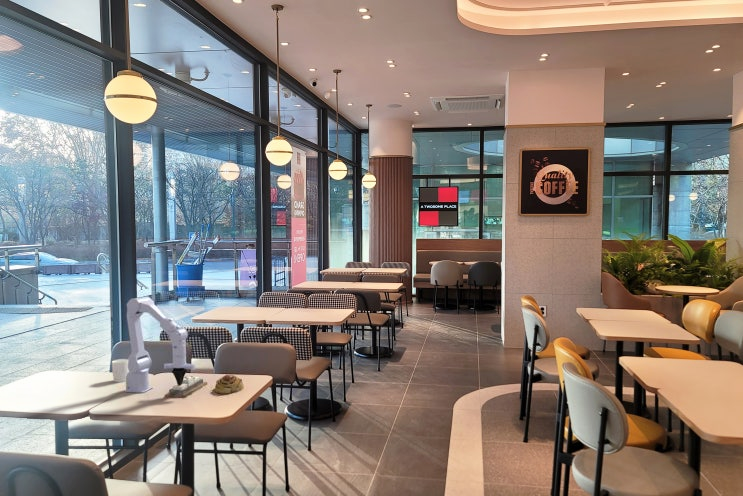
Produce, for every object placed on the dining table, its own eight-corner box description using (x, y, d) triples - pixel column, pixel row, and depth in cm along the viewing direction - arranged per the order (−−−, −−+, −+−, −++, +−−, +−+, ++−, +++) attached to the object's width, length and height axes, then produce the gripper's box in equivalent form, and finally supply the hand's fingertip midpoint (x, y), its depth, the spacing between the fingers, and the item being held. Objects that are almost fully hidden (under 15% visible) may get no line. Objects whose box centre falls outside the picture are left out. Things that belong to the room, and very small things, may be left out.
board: (164, 396, 240) (164, 390, 240) (188, 383, 261) (188, 377, 261) (185, 397, 238) (184, 391, 238) (207, 384, 259) (207, 378, 259)
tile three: (186, 385, 253) (186, 378, 253) (191, 382, 258) (191, 375, 258) (195, 385, 253) (195, 378, 253) (199, 382, 257) (199, 376, 257)
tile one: (172, 392, 242) (172, 385, 241) (178, 389, 246) (177, 382, 246) (182, 393, 241) (181, 385, 241) (187, 390, 245) (187, 383, 245)
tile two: (179, 386, 247) (179, 378, 247) (184, 383, 252) (184, 376, 252) (188, 386, 247) (188, 379, 247) (193, 383, 251) (193, 376, 251)
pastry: (213, 395, 241) (213, 378, 241) (215, 386, 256) (215, 370, 256) (243, 393, 244) (243, 376, 244) (243, 384, 259) (243, 368, 259)
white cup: (125, 382, 263) (124, 362, 263) (109, 382, 264) (108, 362, 263) (132, 378, 271) (131, 358, 271) (117, 378, 271) (116, 359, 271)
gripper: (198, 353, 246) (198, 382, 246) (169, 352, 248) (170, 381, 249) (190, 357, 239) (191, 386, 239) (161, 356, 241) (161, 385, 242)
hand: (179, 384), depth 243 cm, fingers closed, pressing on tile one
